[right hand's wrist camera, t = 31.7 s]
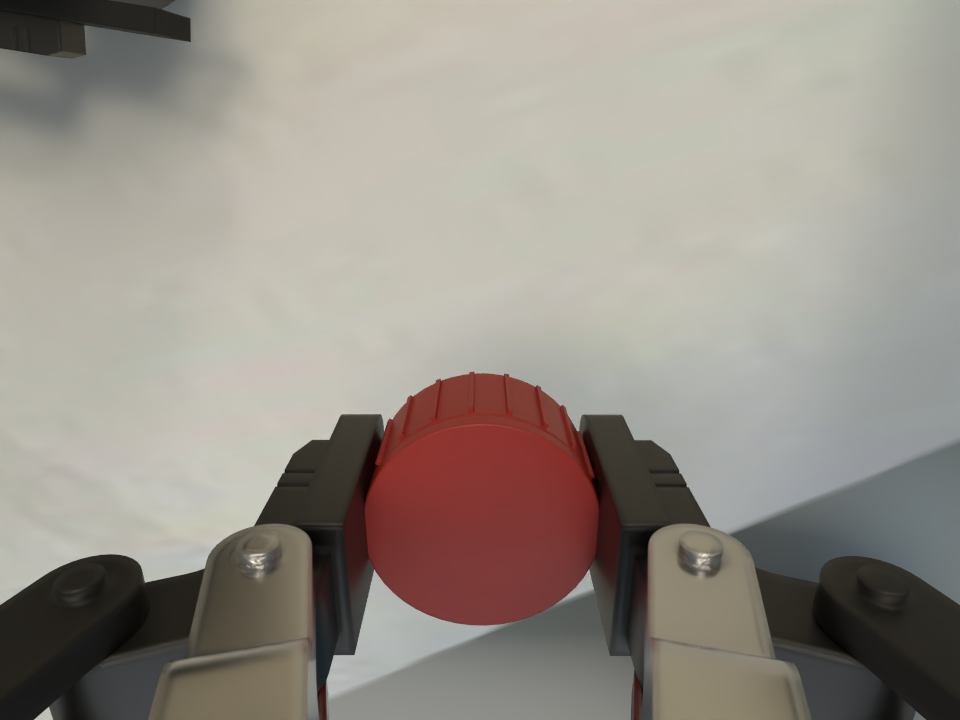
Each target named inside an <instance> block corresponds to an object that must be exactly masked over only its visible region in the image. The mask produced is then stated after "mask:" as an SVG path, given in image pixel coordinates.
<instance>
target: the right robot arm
mask: <svg viewBox="0 0 960 720" xmlns="http://www.w3.org/2000/svg"><path fill="white" fill-rule="evenodd" d="M579 431H580V432H581V434H582V437H583V440H584V443H585V447H586V450H587V453H588V456H589V459H590V462H591V466H592V469H593V472H594V475H595V478H592V481H593V484H594V487H595V491H596V494H597V497H598V500H599V517H598V530H597V543H596V555H595V558H594V560H593V562H592V564H591V566H590V568H589V570H590V574H591V578H592V582H593V587H594V591H595V595H596V599H597V603H598V608H599V612H600V616H601V620H602V624H603V629H604V633H605V637H606V641H607V646H608V650H609V654H610V656H631V658H632V661H633V665H634V678H633V687H632V702H631V720H913V718H914V715H915V712H916V711H917V712H918V713H919V714H920V715H922V716H923V717H924V718H925V719H926V720H960V605H959V604H957V603H956V602H954V601H953V600H951V599H950V598H948V597H947V596H945V595H944V594H942V593H941V592H939V591H938V590H936V589H935V588H933V587H932V586H930V585H929V584H927V583H926V582H925V581H923V580H921V579H920V578H918V577H917V576H915V575H913V574H912V573H910V572H908V571H906V570H904V569H902V568H900V567H898V566H895V565H892V564H890V563H887V562H884V561H881V560H876V559H872V558H867V557H859V556H845V557H839V558H835V559H832V560H830V561H828V562H827V563H825V564H824V566H823V567H822V569H821V572H820V576H819V580H818V583H815V582H811V581H806V580H801V579H796V578H792V577H787V576H782V575H778V574H774V573H770V572H766V571H763V570H761V569H758V568H755V566H754V562H753V559H752V556H751V554H750V553H749V551H748V550H747V549H746V548H745V547H744V546H743V544H741V543H740V542H739V541H738V540H736V539H735V538H733V537H731V536H730V535H728V534H726V533H724V532H722V531H719V530H717V529H714V528H711V527H710V525H709V523H708V522H707V520H706V518H705V516H704V514H703V513H702V511H701V509H700V507H699V505H698V504H697V502H696V500H695V498H694V496H693V495H692V493H691V491H690V489H689V487H687V484H686V482H685V480H684V478H683V476H682V475H681V474H679V469H678V467H677V466H676V464H675V462H674V460H673V458H672V457H671V455H670V454H669V453H668V452H666V451H665V450H664V449H662V448H661V447H660V446H658V445H657V444H655V443H654V442H653V441H651V440H634V439H633V437H632V434H631V432H630V430H629V428H628V426H627V424H626V422H625V419H624V417H623V416H622V415H582V417H581V421H580V429H579ZM383 435H384V426H383V419H382V416H381V414H342V415H341V416H340V418H339V420H338V422H337V425H336V427H335V429H334V431H333V433H332V435H331V438H330V440H312V441H310V442H309V443H308V444H306V445H305V446H304V447H302V448H301V449H299V450H298V451H297V452H295V453H294V454H293V456H292V458H291V459H290V461H289V463H288V465H287V467H286V469H285V473H283V474H282V476H281V478H280V480H279V481H278V483H277V487H275V489H274V491H273V492H272V494H271V496H270V498H269V500H268V502H267V503H266V505H265V507H264V509H263V511H262V513H261V514H260V516H259V518H258V520H257V522H256V524H255V525H254V526H253V527H250V528H246V529H243V530H241V531H238V532H236V533H234V534H232V535H230V536H228V537H227V538H225V539H224V540H222V541H221V542H220V543H219V544H217V546H216V547H215V548H214V549H213V550H212V551H211V553H210V554H209V556H208V559H207V562H206V566H205V569H202V570H199V571H196V572H192V573H188V574H184V575H179V576H175V577H170V578H165V579H160V580H156V581H151V582H146V583H145V581H144V577H143V572H142V569H141V566H140V565H139V563H138V562H137V561H135V560H134V559H132V558H129V557H127V556H122V555H112V554H110V555H98V556H91V557H87V558H83V559H80V560H77V561H73V562H71V563H68V564H66V565H63V566H61V567H59V568H57V569H55V570H53V571H51V572H49V573H48V574H46V575H45V576H43V577H41V578H40V579H38V580H37V581H35V582H34V583H32V584H31V585H30V586H28V587H27V588H25V589H24V590H22V591H21V592H19V593H18V594H16V595H15V596H13V597H12V598H10V599H9V600H7V601H6V602H4V603H3V604H1V605H0V720H34V719H35V718H36V717H37V716H39V715H40V714H41V713H42V712H43V711H44V710H45V709H47V708H48V707H49V708H50V711H51V714H52V717H53V720H329V702H328V687H327V677H328V674H329V670H330V667H331V663H332V659H333V655H354V654H355V650H356V646H357V641H358V637H359V633H360V628H361V624H362V620H363V615H364V611H365V607H366V602H367V598H368V594H369V589H370V585H371V580H372V576H373V572H374V567H373V565H372V563H371V562H370V560H369V557H368V547H367V534H366V520H365V500H366V496H367V493H368V489H369V486H370V483H371V479H372V476H373V472H374V469H375V466H376V464H375V462H376V459H377V455H378V452H379V449H380V445H381V442H382V439H383Z"/></svg>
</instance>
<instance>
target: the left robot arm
mask: <svg viewBox="0 0 960 720" xmlns="http://www.w3.org/2000/svg"><path fill="white" fill-rule="evenodd" d="M84 25H87V26H94V27H100V28H106V29H113V30H119V31H125V32H131V33H138V34H144V35H150V36H157V37H163V38H169V39H176V40H182V41H188V42H191V31H190V18H187V17H184V16H180V15H177V14H174V13H171V12H167V11H164V10H161V9H158V8H154V7H149V6H142V5H136V4H130V3H124V2H118V1H111V0H0V48H3V49H9V50H15V51H22V52H28V53H35V54H41V55H48V56H56V57H64V58H75V57H79V56H83V55H86V49H85V34H84Z"/></svg>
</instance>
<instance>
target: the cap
mask: <svg viewBox="0 0 960 720" xmlns="http://www.w3.org/2000/svg"><path fill="white" fill-rule="evenodd" d="M375 464H376V466H375V469H374V472H373V476H372V479H371V483H370V486H369V489H368V493H367V496H366V500H365V520H366V534H367V547H368V557H369V560H370V562H371V563H372V565H373V567H374V569H375V571H376V573H377V574H378V575H379V577H380V578H381V579H382V581H383V582H384V583H385V584H386V585H387V587H388V588H389V589H390V590H391V591H392V592H393V593H394V594H396V595H397V596H398V597H399V598H401V599H402V600H403V601H404V602H406V603H407V604H409V605H411V606H412V607H414V608H415V609H417V610H419V611H421V612H423V613H425V614H428V615H430V616H433V617H436V618H438V619H441V620H445V621H449V622H453V623H459V624H466V625H497V624H504V623H510V622H515V621H518V620H522V619H525V618H528V617H531V616H533V615H535V614H538V613H540V612H542V611H544V610H546V609H548V608H550V607H551V606H553V605H555V604H556V603H557V602H559V601H560V600H562V599H563V598H564V597H566V596H567V595H568V594H569V593H570V592H571V591H572V590H573V589H574V588H575V587H576V586H577V585H578V584H579V582H580V581H581V580H582V579H583V578H584V576H585V574H586V573H587V571H588V570H589V568H590V566H591V564H592V562H593V560H594V558H595V555H596V543H597V530H598V517H599V500H598V497H597V494H596V491H595V487H594V484H593V481H592V478H595V475H594V472H593V469H592V466H591V462H590V459H589V456H588V453H587V450H586V447H585V443H584V440H583V437H582V434H581V432H580V431H578V432H577V430H576V428H575V427H574V425H573V423H572V421H571V419H570V418H569V417H568V415H567V411H566V408H565V407H564V406H563V405H562V406H561V407H560V406H559V405H558V404H557V403H556V402H555V401H554V400H553V399H552V398H551V397H549V396H548V395H547V394H546V393H544V392H543V391H541V387H539V386H536V387H534V386H532V385H530V384H528V383H526V382H524V381H521V380H518V379H514V378H511V377H509V374H504V376H502V375H495V374H484V373H482V374H474V372H470V374H468V375H461V376H456V377H452V378H448V379H445V380H442V381H441V379H439V380H436V383H435V384H433V385H431V386H429V387H427V388H425V389H424V390H422V391H421V392H419V393H418V394H416V395H415V396H413V397H412V396H409V397H408V399H407V403H406V404H404V406H403V407H402V408H401V409H400V410H399V411H398V413H397V414H396V415H395V417H394V418H393V420H391V419H389V420H388V422H387V425H386V429H385V432H384V435H383V439H382V442H381V445H380V449H379V452H378V455H377V459H376V462H375Z"/></svg>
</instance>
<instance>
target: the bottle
mask: <svg viewBox="0 0 960 720" xmlns="http://www.w3.org/2000/svg"><path fill="white" fill-rule="evenodd" d="M111 1H118V2H124V3H130V4H136V5H142V6H149V7H154V8H158V9H161V8H163V7H165V6H167V5H169V4H170V3H171V2H173V1H174V0H111Z"/></svg>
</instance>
